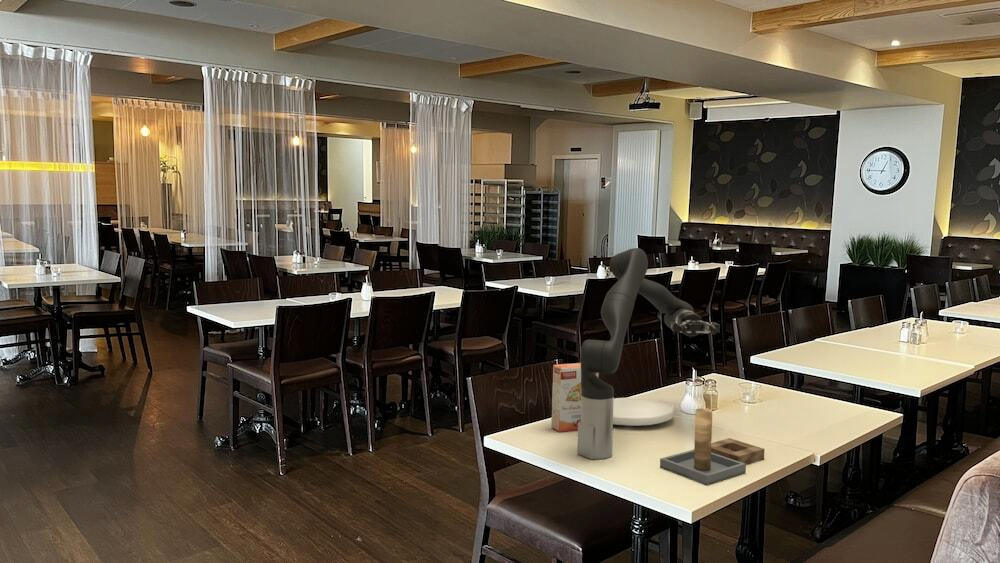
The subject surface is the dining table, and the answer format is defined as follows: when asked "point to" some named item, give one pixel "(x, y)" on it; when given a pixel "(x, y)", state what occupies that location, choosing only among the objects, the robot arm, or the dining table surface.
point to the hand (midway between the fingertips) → (700, 330)
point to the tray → (718, 472)
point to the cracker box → (566, 396)
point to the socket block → (737, 450)
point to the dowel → (703, 439)
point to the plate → (640, 411)
